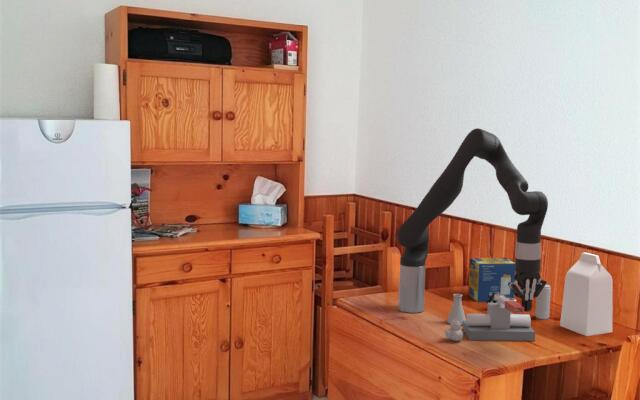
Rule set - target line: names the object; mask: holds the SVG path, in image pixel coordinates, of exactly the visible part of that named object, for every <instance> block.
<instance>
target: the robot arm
mask: <svg viewBox="0 0 640 400" xmlns="http://www.w3.org/2000/svg"><path fill="white" fill-rule="evenodd" d="M474 157H476V158H479V159H481V160H485V161H486V162H487V163H489V164H490V165H491V166H492V167H493V169H494V170H495V176H496V181H498V183H499V184H500V186H501V188H502V189H503V190H504V192H506V194H507V196H508V197H507V198H508V200H509V203H510V206H511V209H512V211H513V212H515V213H516V214H517V215H520V216H528V218H527V219H526V220H524V221H522V222H520V223H517V227H516V243H515V254H514V255H515V258H514V259H515V260H514V263H515V277H514V280H513V281H512V282H509V283H508V286H509V287H510V289H511V290H512V292H513V293H514V297H516V298H518V299H520V300H521V303H520V304H521V305H522V306H524V313H528V312H531V310H532V308H533V299H534V298H535V299H536V297H538V295H539V294H540V292H541V291H542V289H543V288H544V286H545V285H546V284H547V281H546V280H543V279H542V278H541V274H540V272H541V268H542V267H541V266H542V245H541V241H542V239H541V237H542V227H543V224H544V221H545V219H546V215H547V212H548V207H549V202H548V197H547V195H545V193H544V192H542V191H537V190H536V191H529V182H528V181H527V179H526V178H525V177H524V176H523V174H522V173H521V172H520V171H519V170H518V169H517V168H516V166H515V164H514V163H513V162H512V160H511V159H510V157H509V155H508V153H507V152H506V150H505V148H504V146H503V144H502V141H501V139H500V138H499V137H498V136H496V134H493V132H489V131H487V130H484V129H482V128H478V127H477V128H473V129H472V130H470V132H469V133H468V134H467V135H465V138H463V140H462V142H461V144H460V145H459V147H458V149H457V151H456V152H455V154H454V156H453V157H452V159H451V160H450V162H449V163H448V165H447V166H446V167H445V169H444V170H443V171H442V172H441V174H440V175H439V177H438V178H437V179H436V181H435V182H434V183H433V184H432V186H431V187H430V188H429V190H428V192H427V193H426V194H425V196H424V197H423V198H422V200H421V201H420V203H419V204H418V206H417V207H416V208H415V210H414V211H413V212H412V214H410V216H408V218H407V219H406V220H405V221H404V222H403V223H402V224H401V225H400V227H399V228H398V229H397V233H396V236H397V237H396V238H397V242H398V243H399V244H400V246H402V247H404V251H403V253H402V254H401V256H400V260H399V262H400V263H399V282H398V306H397V307H398V309H399V312H404V313H409V314H412V313H414V314H417V313H422V312H424V311H425V287H426V261H427V258H428V254H429V243H430V242H429V240H430V235H429V234H430V233H429V228H428V227H429V225H430V224H431V223H432V222H433V221H435V219H436V218H438V217H440V215H441V214H443V213H444V212H445V211H447V209H448V208H449V207H450V206H452V204H453V203H454V202H455V200H456V199H457V198H458V197H459V195H460V194H461V192H462V189H463V186H464V178H465V177H464V176H465V171H466V168H467V167H468V166H469V164H470V163H471V161H472V160H473V159H474Z"/></svg>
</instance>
